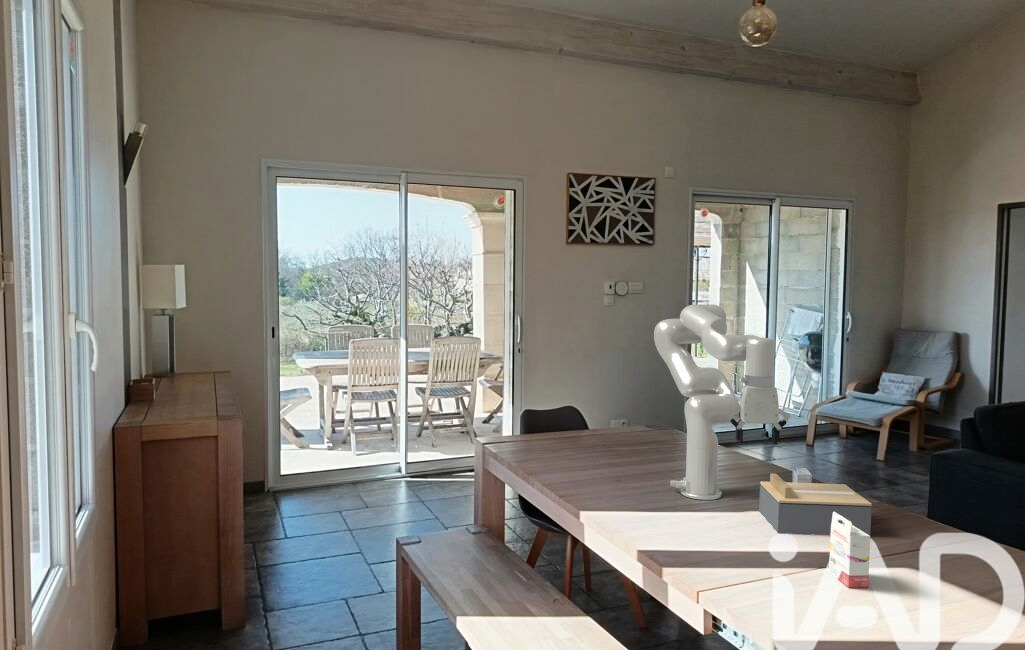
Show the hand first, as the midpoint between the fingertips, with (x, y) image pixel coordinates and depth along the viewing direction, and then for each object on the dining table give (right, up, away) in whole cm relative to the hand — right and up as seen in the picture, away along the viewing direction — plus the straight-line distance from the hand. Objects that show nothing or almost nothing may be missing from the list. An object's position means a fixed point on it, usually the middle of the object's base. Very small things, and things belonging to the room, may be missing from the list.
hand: (757, 442), depth 197 cm
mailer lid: (+16, -14, 0) cm, 21 cm away
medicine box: (+22, -21, +24) cm, 39 cm away
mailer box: (+15, -23, 0) cm, 27 cm away
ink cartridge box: (+8, -25, -37) cm, 46 cm away
